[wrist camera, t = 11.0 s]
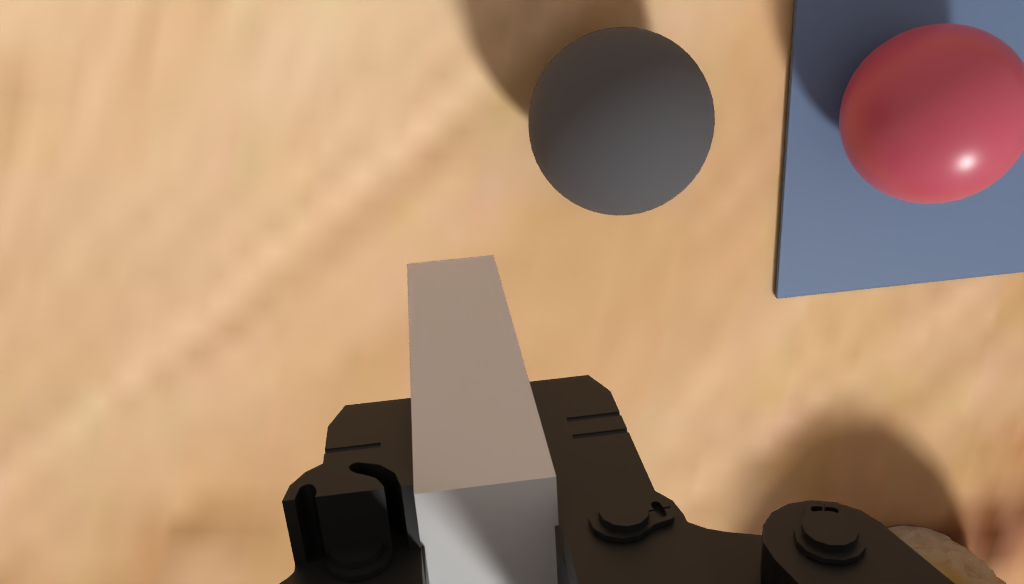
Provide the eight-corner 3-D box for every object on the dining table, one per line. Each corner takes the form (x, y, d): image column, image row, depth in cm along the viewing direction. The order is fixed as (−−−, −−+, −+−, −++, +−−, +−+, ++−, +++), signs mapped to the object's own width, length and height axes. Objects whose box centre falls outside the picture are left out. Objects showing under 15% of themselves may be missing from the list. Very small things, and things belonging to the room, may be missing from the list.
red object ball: (894, 238, 25) (1061, 215, 26) (918, 44, 23) (1099, 26, 24) (801, 185, 30) (944, 168, 31) (813, 21, 28) (967, 7, 29)
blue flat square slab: (775, 296, 32) (777, 298, 32) (802, -123, 27) (805, -123, 26) (1128, 258, 33) (1132, 260, 33) (1227, -151, 28) (1233, -152, 28)
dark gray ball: (723, 229, 24) (720, 179, 29) (705, 21, 22) (706, 6, 27) (528, 247, 25) (557, 196, 30) (496, 53, 23) (533, 33, 28)
